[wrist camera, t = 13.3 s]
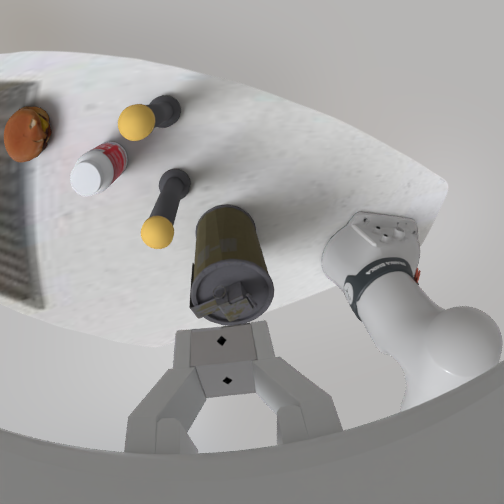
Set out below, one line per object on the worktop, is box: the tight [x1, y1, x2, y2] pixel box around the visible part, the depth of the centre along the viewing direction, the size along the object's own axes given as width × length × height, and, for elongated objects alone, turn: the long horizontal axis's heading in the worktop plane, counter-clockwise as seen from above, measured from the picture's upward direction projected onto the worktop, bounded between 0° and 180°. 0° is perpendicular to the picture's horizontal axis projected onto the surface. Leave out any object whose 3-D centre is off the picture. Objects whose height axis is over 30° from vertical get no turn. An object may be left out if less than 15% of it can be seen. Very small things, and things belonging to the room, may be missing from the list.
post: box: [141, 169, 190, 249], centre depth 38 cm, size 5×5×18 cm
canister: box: [190, 205, 274, 325], centre depth 43 cm, size 11×10×20 cm
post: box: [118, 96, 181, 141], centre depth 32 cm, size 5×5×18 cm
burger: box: [4, 107, 51, 162], centre depth 35 cm, size 10×9×5 cm
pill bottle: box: [70, 142, 127, 196], centre depth 37 cm, size 6×6×11 cm
